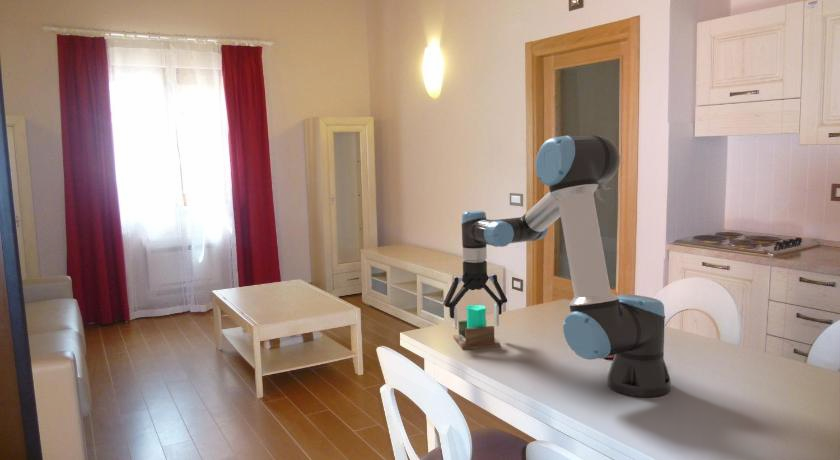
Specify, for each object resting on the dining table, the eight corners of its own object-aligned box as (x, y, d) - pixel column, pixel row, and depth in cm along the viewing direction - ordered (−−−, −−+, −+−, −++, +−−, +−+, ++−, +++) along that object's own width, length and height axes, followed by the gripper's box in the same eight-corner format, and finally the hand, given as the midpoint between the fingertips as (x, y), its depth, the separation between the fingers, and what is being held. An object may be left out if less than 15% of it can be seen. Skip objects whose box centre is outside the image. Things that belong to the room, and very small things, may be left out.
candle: (464, 340, 196) (463, 303, 194) (471, 335, 201) (471, 299, 200) (481, 342, 193) (481, 305, 192) (489, 337, 198) (488, 301, 197)
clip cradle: (500, 346, 192) (499, 327, 192) (462, 349, 190) (462, 330, 190) (489, 335, 204) (488, 317, 203) (453, 338, 202) (453, 320, 201)
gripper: (509, 255, 200) (509, 320, 202) (433, 260, 195) (435, 326, 198) (516, 259, 192) (517, 326, 195) (438, 264, 188) (439, 332, 191)
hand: (475, 326), depth 197 cm, fingers open, 13 cm apart
